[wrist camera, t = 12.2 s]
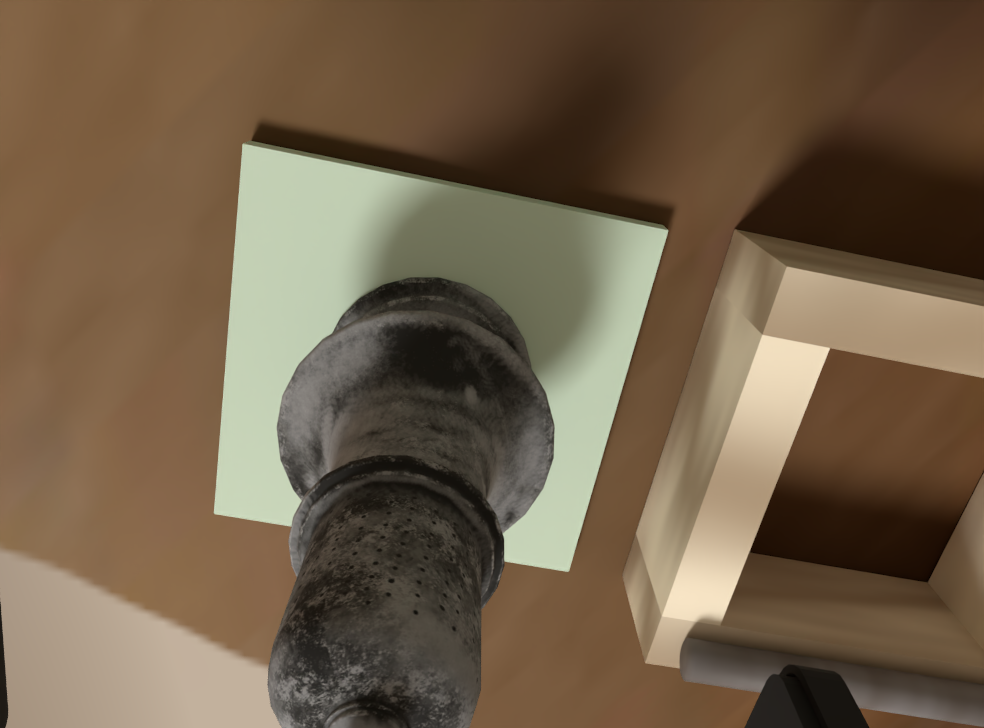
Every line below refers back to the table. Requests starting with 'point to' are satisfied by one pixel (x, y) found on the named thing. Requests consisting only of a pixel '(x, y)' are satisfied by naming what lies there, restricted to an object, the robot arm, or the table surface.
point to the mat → (427, 253)
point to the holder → (755, 471)
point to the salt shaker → (403, 505)
